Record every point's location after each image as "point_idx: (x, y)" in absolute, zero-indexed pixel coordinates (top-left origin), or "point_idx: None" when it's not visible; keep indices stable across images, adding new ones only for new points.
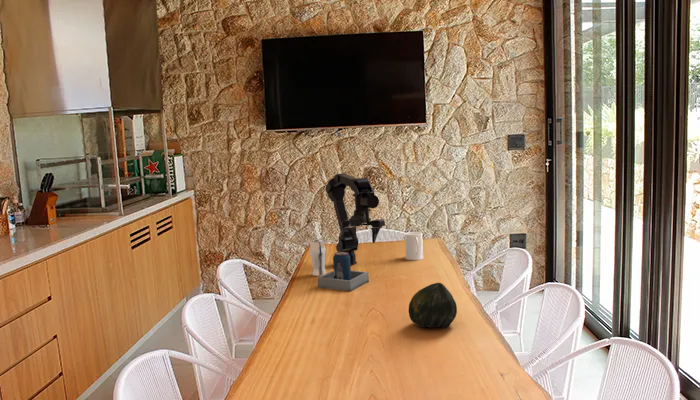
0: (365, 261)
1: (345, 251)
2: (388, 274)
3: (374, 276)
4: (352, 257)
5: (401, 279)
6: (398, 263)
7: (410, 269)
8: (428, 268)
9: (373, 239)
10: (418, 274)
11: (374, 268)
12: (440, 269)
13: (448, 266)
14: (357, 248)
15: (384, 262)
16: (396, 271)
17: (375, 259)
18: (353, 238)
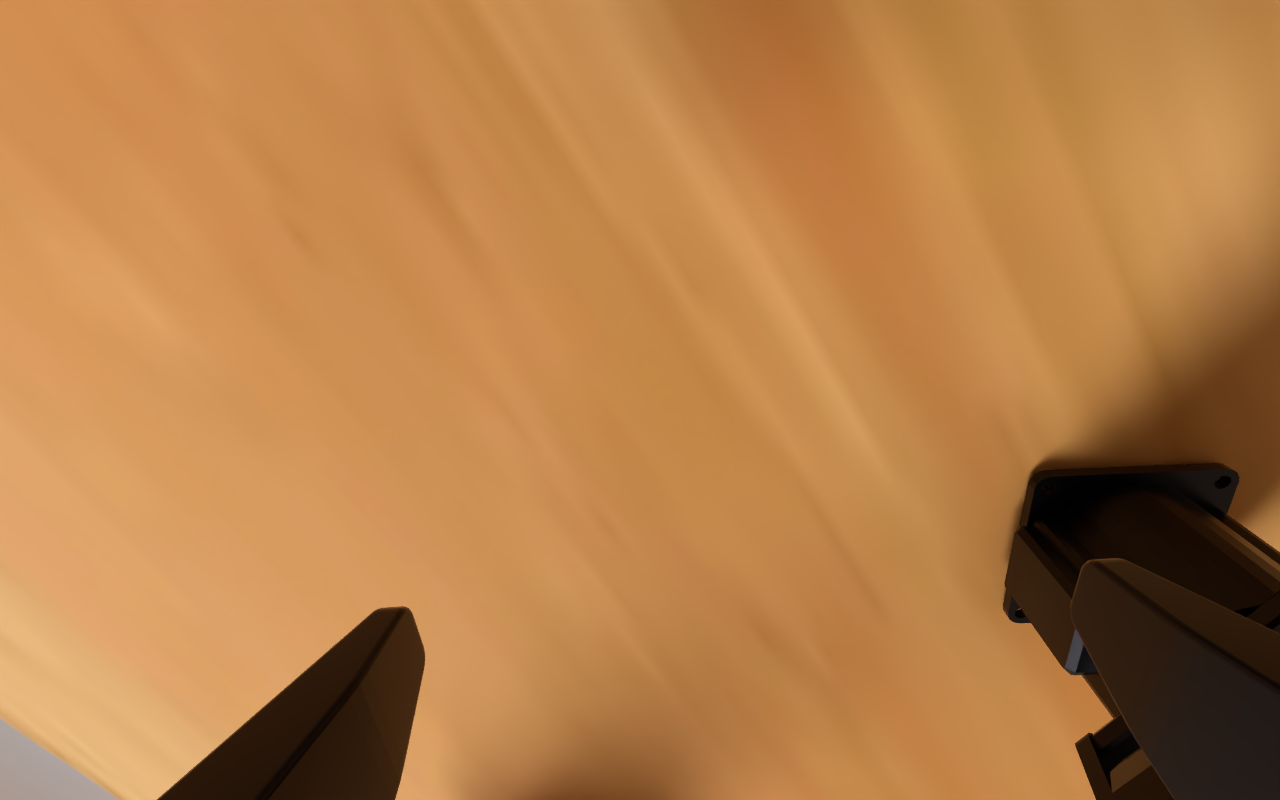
0: (929, 690)
1: (1261, 614)
2: (350, 321)
3: (436, 146)
4: (1068, 583)
5: (37, 172)
6: (558, 724)
7: (302, 589)
8: (192, 669)
9: (286, 698)
10: (82, 456)
11: (676, 492)
12: (81, 674)
13: (112, 765)
14: (1086, 773)
15: (710, 714)
16: (367, 473)
17: (859, 772)
18: (1266, 663)
